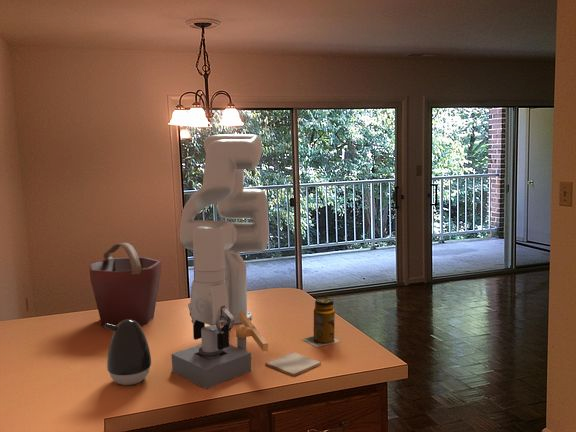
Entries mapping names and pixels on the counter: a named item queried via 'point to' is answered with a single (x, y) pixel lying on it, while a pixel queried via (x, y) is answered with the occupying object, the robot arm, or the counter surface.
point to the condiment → (323, 323)
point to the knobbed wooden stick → (250, 332)
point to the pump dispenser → (128, 353)
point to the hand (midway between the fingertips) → (211, 343)
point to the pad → (293, 363)
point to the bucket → (125, 286)
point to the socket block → (212, 364)
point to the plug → (209, 343)
